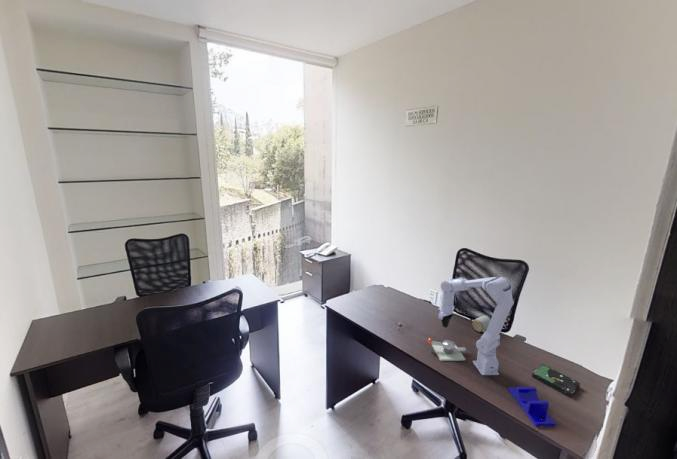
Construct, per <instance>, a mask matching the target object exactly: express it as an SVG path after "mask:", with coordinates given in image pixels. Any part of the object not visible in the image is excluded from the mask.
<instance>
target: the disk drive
mask: <svg viewBox="0 0 677 459" xmlns="http://www.w3.org/2000/svg"><path fill="white" fill-rule="evenodd" d="M531 378H533V379H535V380H537V381H538V382H541V383H542V384H544V385H546V386H547V387H549V388H552V389H554V390H555V391H557V392H559V393H561V394H562V395H564V396H565V397H568V398H571V397H572V396H573V395H574V394H575V393H576V392H577V391H578V390H577V389H580V386H581V382H579V381H578V380H576V379H573V378H571V377H569V376H568V375H565V374H564V373H563V374H562V373H561V372H559V371H557V370H555V369H553V368H551V367H549V366H547V365H545V364H543V363H542V364H541V365H540V366H538V367H537V369H535V370H534V371H533V372H532V373H531ZM576 390H577V391H576Z"/></svg>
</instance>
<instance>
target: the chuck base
mask: <svg viewBox="0 0 677 459" xmlns="http://www.w3.org/2000/svg"><path fill="white" fill-rule="evenodd" d="M431 346H432V348H433V351H434V352H435V353H436V356H437V357H438V359H439V361H440V362H446V361H448V362H449V361H450V362H451V361H452V362H453V361H454V362H457V361H463V362H464V361H466V358H465V356H464V355H463V354H462V352H466V351H467V349H466V347H458V346H457V344H455V350H453V351H448V350H446V349H444V348H443V347H442V346H438V345H431Z"/></svg>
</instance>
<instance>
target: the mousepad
mask: <svg viewBox="0 0 677 459" xmlns="http://www.w3.org/2000/svg"><path fill="white" fill-rule="evenodd" d="M395 324H396V323H395ZM397 324H398V325H397ZM397 324H396V327H397V329H398V330H400V329H401V330H402V329H408V326H407V325H406V324H404V323H403V322H398V323H397Z"/></svg>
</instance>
